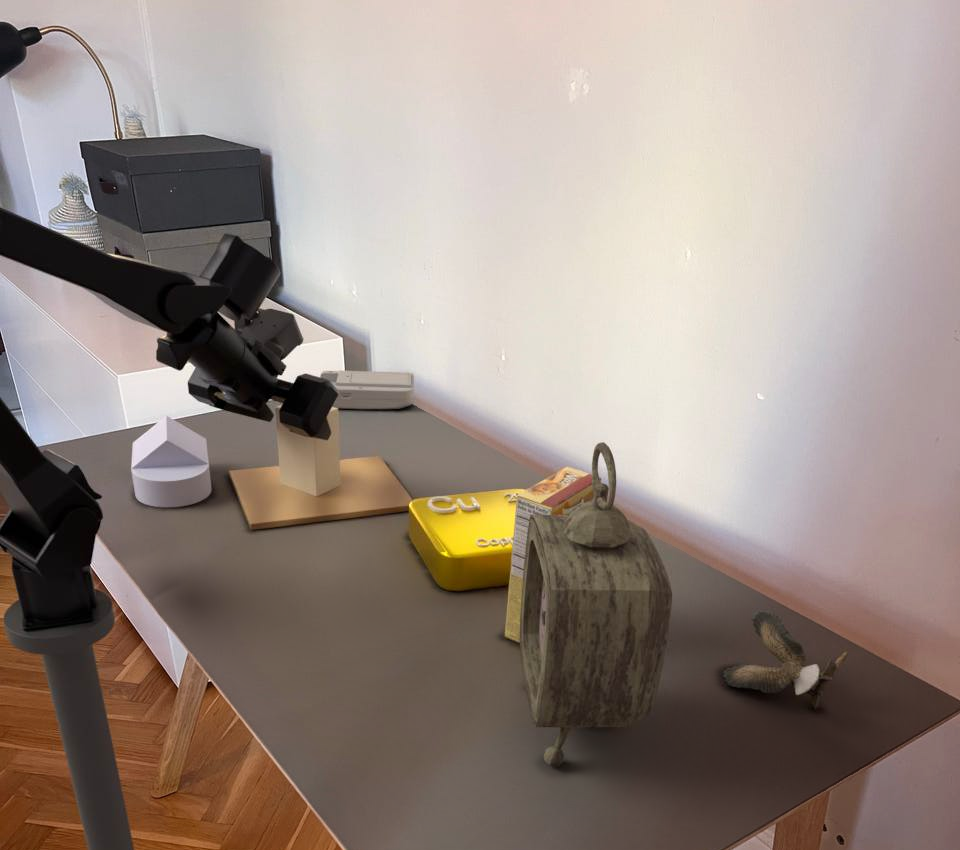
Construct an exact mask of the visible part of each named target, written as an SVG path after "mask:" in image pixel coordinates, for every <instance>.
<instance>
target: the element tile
mask: <svg viewBox="0 0 960 850" xmlns="http://www.w3.org/2000/svg"><path fill="white" fill-rule="evenodd" d="M525 490H526V489H523V488H509V489H501V490H489V491H479V492H478V491H477V492H468V493H458V494H449V495H448V494H447V495H437V496H436V495H435V496H427V497H418V498H414V499H412V500H413V501H412V502H410V505H409V511H408V537H409V539H410V541H411V543H412V545H413V546H414V547H415V549H416V552H417V553H418V554H419V556H420V558H421V560H422V561H423V563H424V565H425V566H426V568H427V570H428V572H429V573H430V575H431V577H432V578H433V580H434V582H435V583H436V585H438V586H439V587H440V588H442V589H443V590H446V591H450V592H451V591H452V592H464V591H470V590H478V589H479V590H480V589H486V588H487V589H488V588H494V587H504V586H509V581H510V570H511V557H512V546H513V535H514V523H515V512H516V499H517V495H518V494H520V493H522V492H523V491H525Z"/></svg>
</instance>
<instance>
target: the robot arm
mask: <svg viewBox="0 0 960 850" xmlns="http://www.w3.org/2000/svg"><path fill="white" fill-rule="evenodd" d="M0 257H2V258H5V259H7V260H10V261H12V262H15V263H17V264H20V265H23V266H25V267H28V268H30V269H32V270H36V271H38V272H40V273H43V274H46V275H48V276H51V277H53V278H56V279H59V280H61V281H64V282H67V283H68V284H71V285H73V286H76V287H79V288H82V289H83V290H85V291H87V292H88V293H89V294H92V295H94V296H95V297H96V298H97V299H99V300H100V301H101V302H103V303H104V304H105V305H107V306H108V307H110V308H112V309H113V310H115V311H116V312H118V313H120V314H121V315H123V316H125V317H127V318H128V319H130V320H132V321H135V322H138V323H140V324H143V325H145V326H149V327H151V328H154V329H157V330H159V331H162V332H165V333H166V334H165V335H163V336H161V337H157V339H156V343H157V348H156V352H155V360H156V361H157V362H158V363H160V364H162V365H165V366H167V367H170V368H171V369H174V370H176V371H182V370H183V369H184V368H185V366H186V365H187V363H190V364H191V365H192V366H193V368H194V370H193V371H192V373H191V375H190V377H189V379H188V381H187V389H188V391H187V392H188V394H189V395H190V396H191V397H193V399H195V400H196V401H197V402H199V403H202V404H206V405H208V406H209V407H212V408H214V409H215V408H216V409H219V410H221V411H225V412H229V413H233V414H237V415H241V416H245V417H248V418H252V419H256V420H259V421H260V420H261V421H263V422H268V423H271V422H273V421H272V420H273V419H274V416H275V414H274V412H273V411H272V409H271V408H270V406H269V405H268V404H267V403H268V402H269V401H270V400H271V401H274V402H277V403H280V404H281V405H282V406H281V408H280V410H279V418H280V423H281V424H282V425H283V426H285V427H286V428H288V429H289V431H290V432H293V433H296V434H299V435H302V436H305V437H311V438H312V437H313V438H318V439H323V440H328V439H329V437H330V435H331V429H330V426H329V423H328V420H327V416H328V414H329V412H330V410H331V408H332V406H333V404H334V402H335V400H336V398H337V396H338V395H339V394H338V391H337V388H336V387H335V386H334V385H333V384H332V383H331V382H330V381H329V380H327V379H324V378H320V377H319V376H316V375H313V374H309V373H303V374H299V375H297V376H296V377H295V379H294V382H291V381H287V380H284V379H280V378H278V377H279V376H283V374H284V372H285V371H286V369H287V367H288V365H286V363H285V362H283V360H285V359H286V358H287V357H288V356H289V355H290V354H291V353H292V352H293V351H294V350H295V349H296V348H297V347H300V346H301V345H302V344H303V343H304V337H303V334H302V332H301V329H300V326H299V324H298V322H297V319H296V317H295V314H293V313H291V312H286V311H283V310H279V309H275V308H266V309H264V308H261V306H262V304H263V303H264V302H265V300H266V298H267V297H268V295H269V293H270V292H271V290H272V288H273V287H274V286H275V284H276V282H277V280H278V279H279V277H280V276H281V273H282V272H281V269H280V267H279V265H277V263H276V262H275V261H274V260H273V258H271V257H269V256H266V255H265V254H264V253H262V252H261V251H259V250H258V249H257V248H255V247H253V246H252V245H250V244H249V243H246V242H245V241H244V240H243V239H242V238H241V237H240V236H239V235H237V234H232V233H228V232H225V233H223V235H222V237H221V238H220V239H219V241H218V244H217V246H216V249H215V251H214V252H213V254H212V255H211V257H210V259H209V260H208V262H207V264H206V265H205V267H204V268H203V270H202V272H201V273H200V275H196V274H193V273H189V272H186V271H182V272H181V271H178V270H176V269H172V268H168V267H166V266H162V265H158V264H155V263H152V262H149V261H145V260H141V259H136V258H132V257H128V256H122V255H118V254H113V253H107V252H105V251H102V250H100V249H98V248H96V247H93V246H91V245H88V244H86V243H83V242H81V241H79V240H76V239H74V238H73V237H70V236H67V235H65V234H62V233H61V232H58V231H56V230H54V229H51V228H49V227H46V226H44V225H42V224H40V223H38V222H36V221H33V220H31V219H28V218H26V217H23V216H21V215H19V214H17V213H14V212H12V211H10V210H7V209H5V208H3V207H0ZM223 316H224V317H225V318H226V319H229V320H231V321H233V323H234V324H233V325H234V327H233V326H232V325H231V324H230V323H229V322H228V320H226V319H225V318H224V317H223ZM0 491H1V494H2V496H3V497H4V500H5V502H6V503H7V505H8V507H9V509H8V511H7V512H6V514H5V515H4V517H3V518H2V520H1V522H0V549H1V550H2V552H4V553H7V554H8V555H10V556H11V572H12V573H11V574H12V577H13V580H14V584H15V588H16V593H17V597H18V600H19V601H20V605H21V609H22V614H23V618H22V627H23V631H26V632H29V631H36V630H43V629H49V628H56V627H63V626H70V625H77V624H84V623H90V622H92V621H94V615H93V608H96V606H97V599H96V592H95V589H96V587H95V582H94V578H93V577H94V576H93V571H92V567H91V565H92V561H93V555H94V550H95V543H96V538H97V534H98V532H99V530H100V528H101V523H102V521H103V519H104V513H103V510H102V507H101V506H100V503H99V502H98V501H97V500H101V499H102V497H103V496H102V495H101V494H100V493H99V492H96V491H95V490H94V489H93V488H92V487H91V485H90V484H89V482H88V479H87V478H86V475H85V474H84V472H83V470H82V469H81V467H80V466H79V465H78V464H76V463H75V462H72V461H70V460H69V459H67V458H65V457H63V456H61V455H59V454H58V453H56V452H53V451H52V450H50V449H48V448H45V449H44V450H43V451H41V450H40V448H39V447H38V445H37V444H36V443H35V442H34V440H33V439H32V438H31V436H30V435H29V434H28V432H27V431H26V429H25V428H24V427H23V425H22V424H21V423H20V421H19V420H18V419H17V417H16V415H14V414H13V412H12V410H11V409H10V408H9V407H8V405H7V404H6V403H5V401H4V400H3V398H2V397H1V396H0Z"/></svg>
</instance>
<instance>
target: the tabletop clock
mask: <svg viewBox="0 0 960 850" xmlns="http://www.w3.org/2000/svg"><path fill="white" fill-rule="evenodd" d="M600 455H602V457H603V460H604V463H605V466H606V471H607V478H608V479H607V480H608V481H607V482H608V485H607V484H606V483H604V482H601V483H600V480H599V477H600V476H599V475H600V474H599V458H600ZM591 475H592V485H593V491H594V499H593V501H589V502H586V503H583V504H580V505H578V506H577V507H575V508H574V509H573V510H572V511H571V512H570V514H569V515H530V520H529V525H528V533H527V541H526V551H525V561H524V572H523V585H522V598H521V614H520V643H519V649H520V650H519V651H520V660H521V661H520V662H521V666H522V672H523V679H524V686H525V692H526V695H527V701H528V705H529V709H530V714H531V717H532V720H533V724H534V725H535V728H559V730H558V731H559V732H558V735H557V737H556V740H555V743H554V745H551V746H549V747H547V748H546V749H545V751H544V754H543V760H544V762H545V764H547V765H548V766H550V767H558V766H560V765H561V764H562V763H563V761H564V758H565V757H564V756H565V754H564V751H563V749H562V747H563V745H564V743H565V742H566V739H567V738H568V736H569V734H570V732H571V730H572V729H573V728H629V727H631V726H633V725H634V724H635V723H637V722H639V721H640V720H642V719H644V718H645V717H647V716H649V715H650V714H651V713H652V711H653V708H654V705H655V702H656V699H657V694H658V690H659V685H660V681H661V676H662V670H663V666H664V661H665V655H666V649H667V643H668V637H669V631H670V626H671V625H670V623H671V617H672V604H673V592H672V590H673V589H672V585H671V581H670V578H669V575H668V572H667V569H666V567H665V565H664V563H663V561H662V558H661V555H660V553H659V551H658V549H657V547H656V546H655V544H654V542H653V540H652V538H651V536H650V535H649V534H648V532H647V530H646V529H645V528H643V527H641V526H639V525H638V524H636V523H634V522H632V521H631V520H629V519H628V518H627V516H626V515H625V514H624V513H623V512H622V510H620V509H619V508H618V507H617V506H616V505H614V503H615V499H616V491H617V469H616V462H615V457H614V455H613V452H612V450H611V449H610V447H609V445H607V443H605V442H604V441H603V442H602V441H601V442H598V443H597V444H596V445H595V447H594V450H593V453H592V461H591Z"/></svg>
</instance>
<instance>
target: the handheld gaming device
mask: <svg viewBox="0 0 960 850" xmlns="http://www.w3.org/2000/svg"><path fill="white" fill-rule="evenodd" d="M320 378H324V379H327V380H329V381H330V382H331V383H332V384H333V385H334V386H335V387H336V388H337V391H338V394H339V395H338V396H337V398H336V400H335V402H334V404H333V406H332V407H335V408H338V409H344V410H345V409H347V410H394V409H396V410H401V409H403V408H406V407H410V406H411V405H413V404H414V400H415V399H414V398H415V397H414V396H415V375H414V372H399V371H366V370H323V371H321V373H320Z"/></svg>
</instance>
